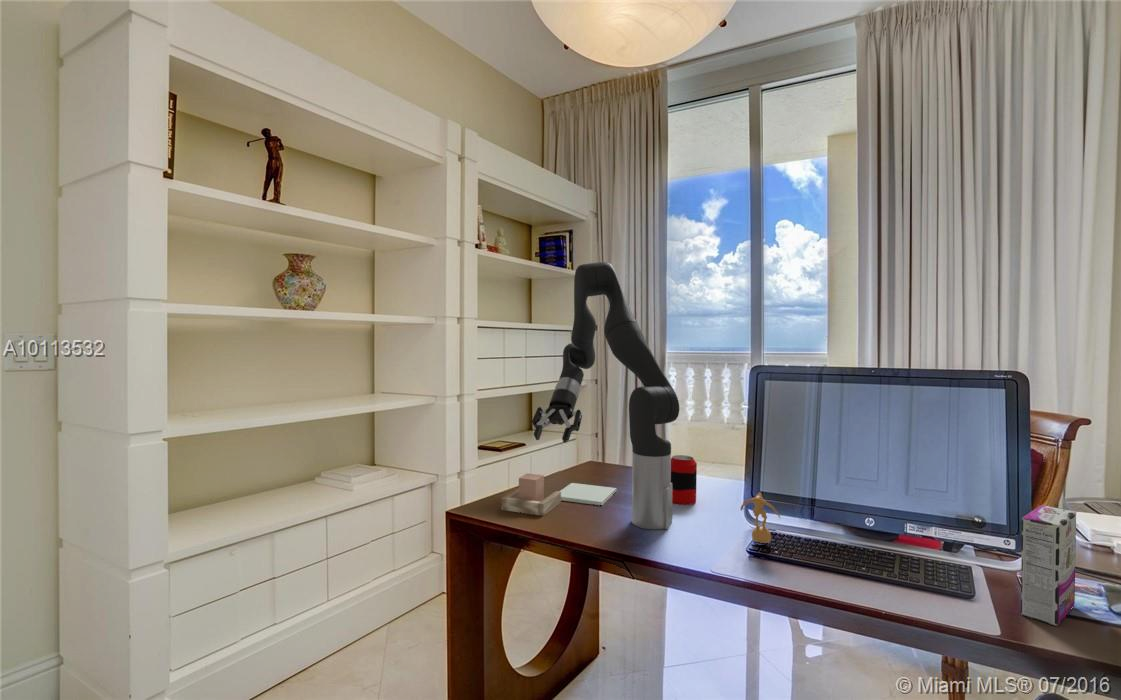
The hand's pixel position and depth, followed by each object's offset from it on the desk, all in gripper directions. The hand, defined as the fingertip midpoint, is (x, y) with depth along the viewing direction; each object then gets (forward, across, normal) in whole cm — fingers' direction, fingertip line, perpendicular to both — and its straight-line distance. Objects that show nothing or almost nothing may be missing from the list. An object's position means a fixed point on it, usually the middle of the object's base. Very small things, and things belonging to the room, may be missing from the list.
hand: (550, 439), depth 153 cm
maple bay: (+20, 0, +2) cm, 20 cm away
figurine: (+23, +57, -1) cm, 62 cm away
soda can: (+5, +36, +17) cm, 40 cm away
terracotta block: (+20, 0, +2) cm, 20 cm away
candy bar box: (+30, +102, -8) cm, 107 cm away
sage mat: (+9, +10, +13) cm, 19 cm away
